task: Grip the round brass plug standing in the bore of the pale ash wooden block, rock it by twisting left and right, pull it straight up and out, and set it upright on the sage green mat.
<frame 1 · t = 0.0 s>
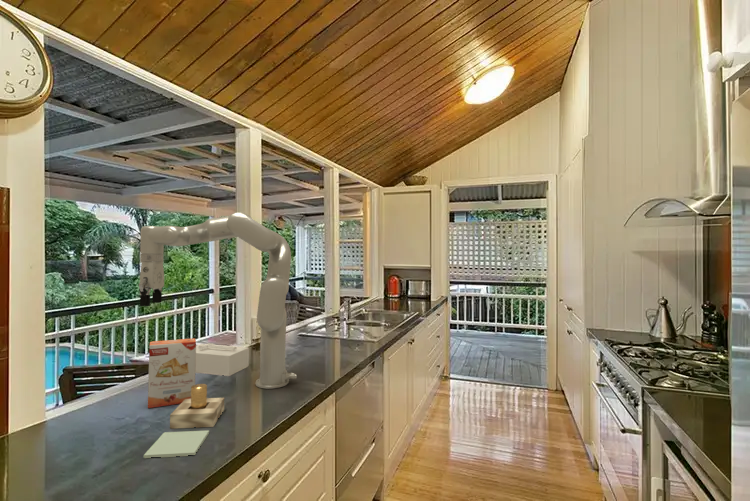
hand: (151, 304, 143), 31 cm above the countertop, tool pointing down, fingers open, 9 cm apart
brass plug: (198, 402, 117), in the bored block
tissue box: (214, 369, 167), on the countertop
bored block: (198, 418, 117), on the countertop
cracker box: (172, 403, 129), on the countertop
green mat: (178, 444, 101), on the countertop
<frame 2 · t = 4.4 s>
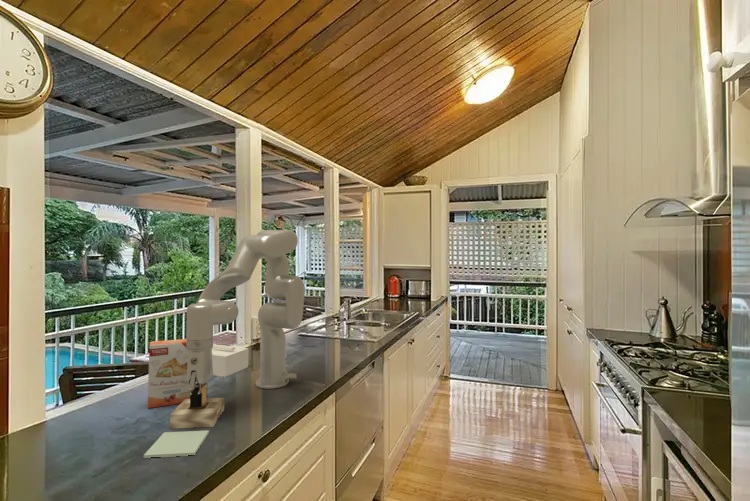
hand: (198, 402, 117), 5 cm above the countertop, tool pointing down, fingers closed on brass plug, 4 cm apart
brass plug: (198, 402, 117), in the bored block, touching gripper
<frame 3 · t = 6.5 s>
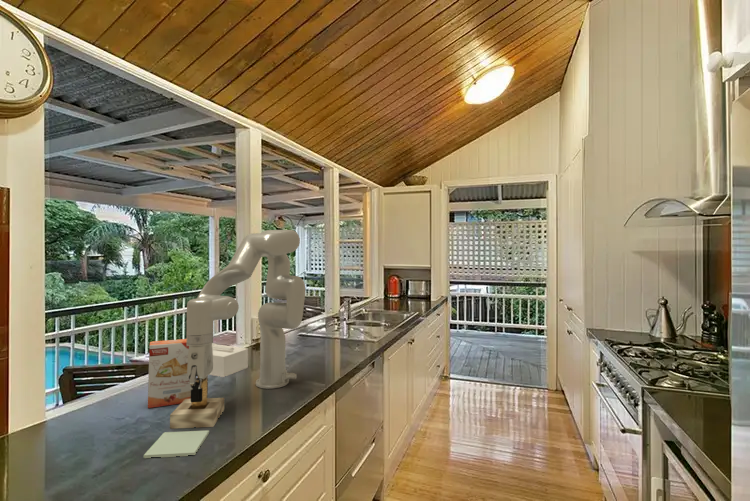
hand: (199, 397, 117), 6 cm above the countertop, tool pointing down, fingers closed on brass plug, 4 cm apart
brass plug: (199, 397, 117), point 6 cm above the countertop, touching gripper
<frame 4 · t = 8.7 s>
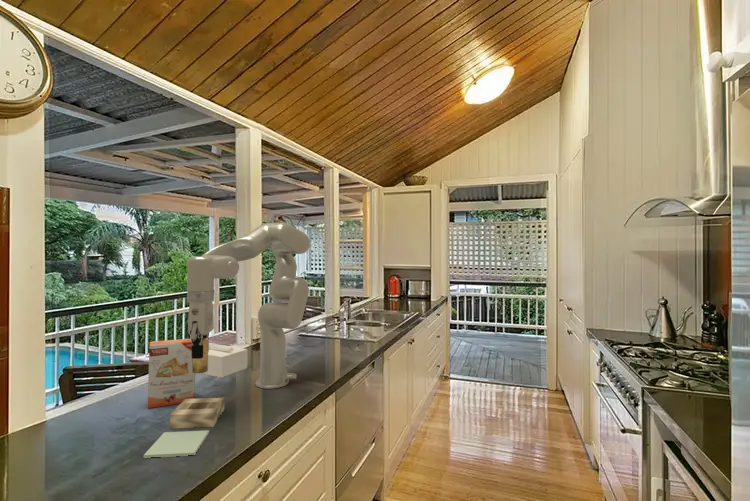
hand: (200, 355, 117), 19 cm above the countertop, tool pointing down, fingers closed on brass plug, 4 cm apart
brass plug: (200, 354, 117), point 20 cm above the countertop, touching gripper
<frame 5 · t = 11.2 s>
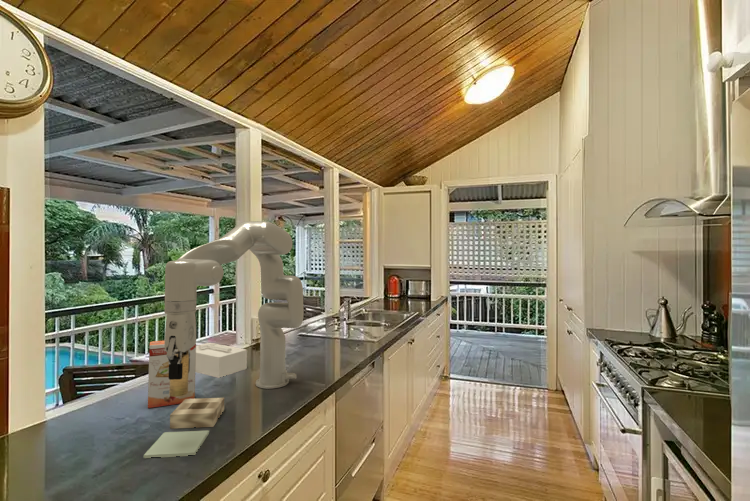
hand: (179, 375, 101), 19 cm above the countertop, tool pointing down, fingers closed on brass plug, 4 cm apart
brass plug: (179, 374, 101), point 19 cm above the countertop, touching gripper
when the fingers open (7 cm above the countertop, at t = 13.4 s): brass plug drops 2 cm, resting on green mat.
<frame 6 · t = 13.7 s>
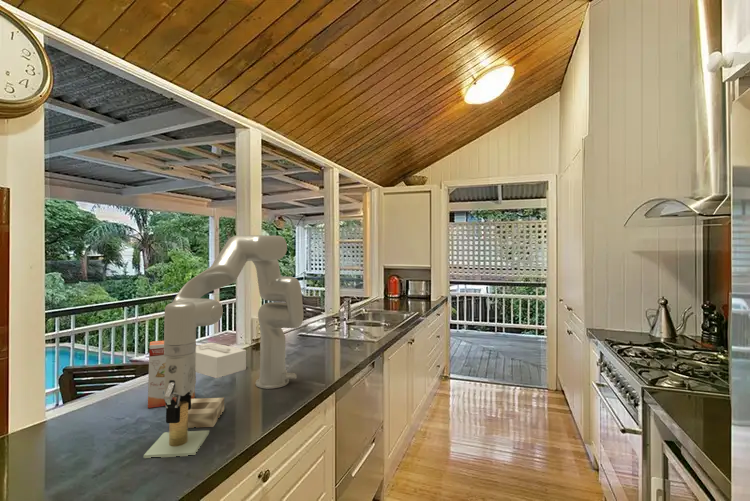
hand: (179, 415, 101), 8 cm above the countertop, tool pointing down, fingers open, 7 cm apart
brass plug: (178, 423, 101), on the green mat, point 6 cm above the countertop
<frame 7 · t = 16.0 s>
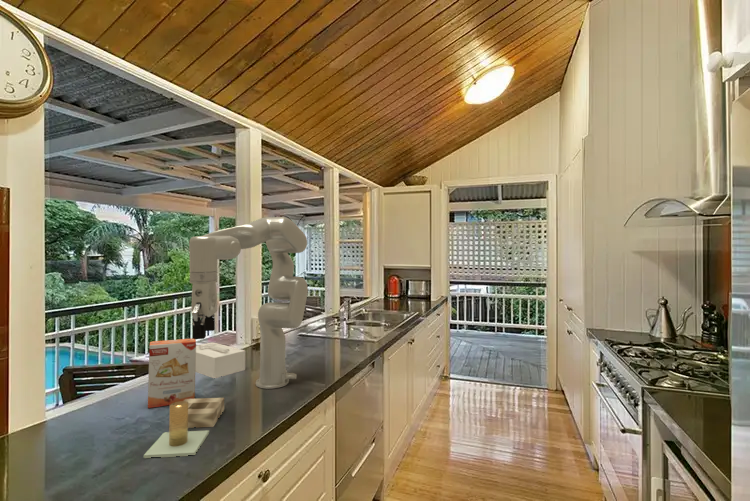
hand: (204, 334, 114), 26 cm above the countertop, tool pointing down, fingers open, 9 cm apart
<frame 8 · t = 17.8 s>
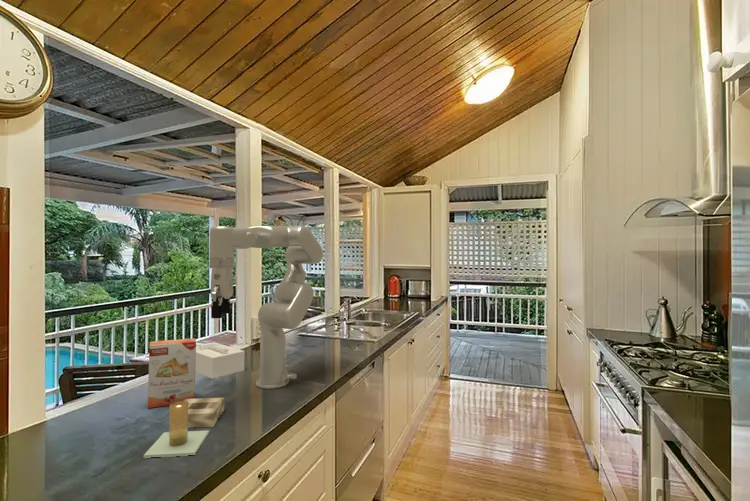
hand: (220, 315, 125), 30 cm above the countertop, tool pointing down, fingers open, 9 cm apart
at the end: brass plug inside the target area on the green mat (0.1 cm from its centre), point 5.8 cm above the green mat's base; brass plug tilted 0°; the gripper is holding nothing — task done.
